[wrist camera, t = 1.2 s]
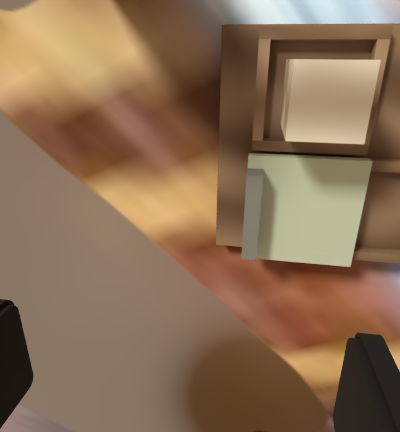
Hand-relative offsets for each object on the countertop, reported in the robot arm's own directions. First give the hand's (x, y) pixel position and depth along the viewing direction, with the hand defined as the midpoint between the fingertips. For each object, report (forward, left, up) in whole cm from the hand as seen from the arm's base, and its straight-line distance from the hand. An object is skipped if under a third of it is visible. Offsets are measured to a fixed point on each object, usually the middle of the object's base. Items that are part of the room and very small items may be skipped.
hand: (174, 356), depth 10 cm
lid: (+4, +6, -20) cm, 21 cm away
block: (-5, +6, -22) cm, 23 cm away
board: (-1, +9, -24) cm, 25 cm away
